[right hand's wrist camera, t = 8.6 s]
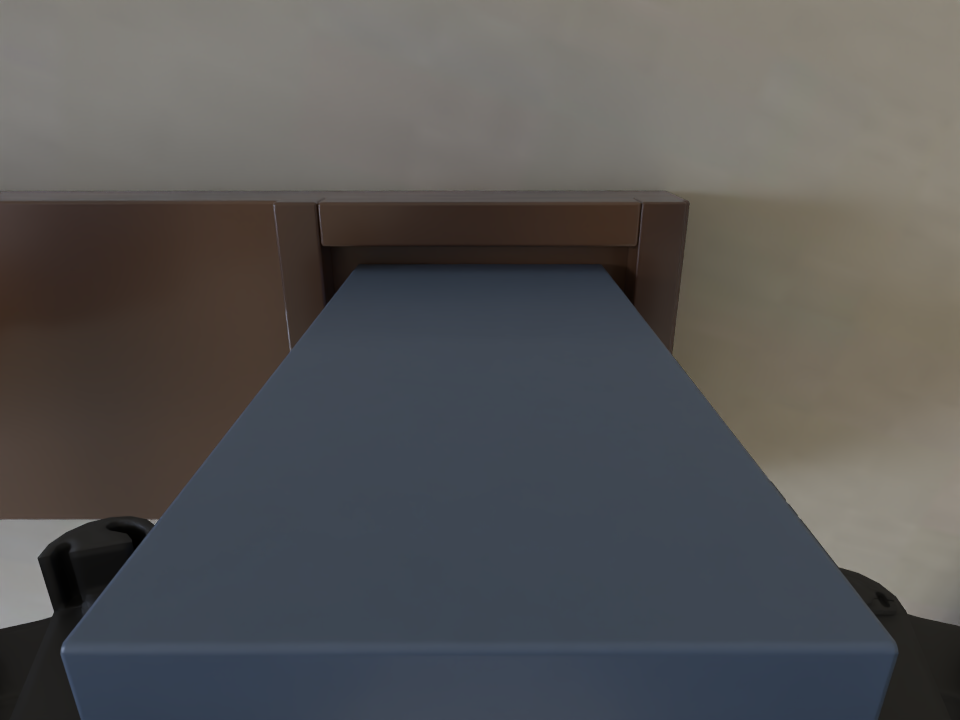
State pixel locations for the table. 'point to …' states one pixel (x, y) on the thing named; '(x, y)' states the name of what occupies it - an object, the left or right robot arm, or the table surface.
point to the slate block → (479, 533)
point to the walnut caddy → (238, 310)
